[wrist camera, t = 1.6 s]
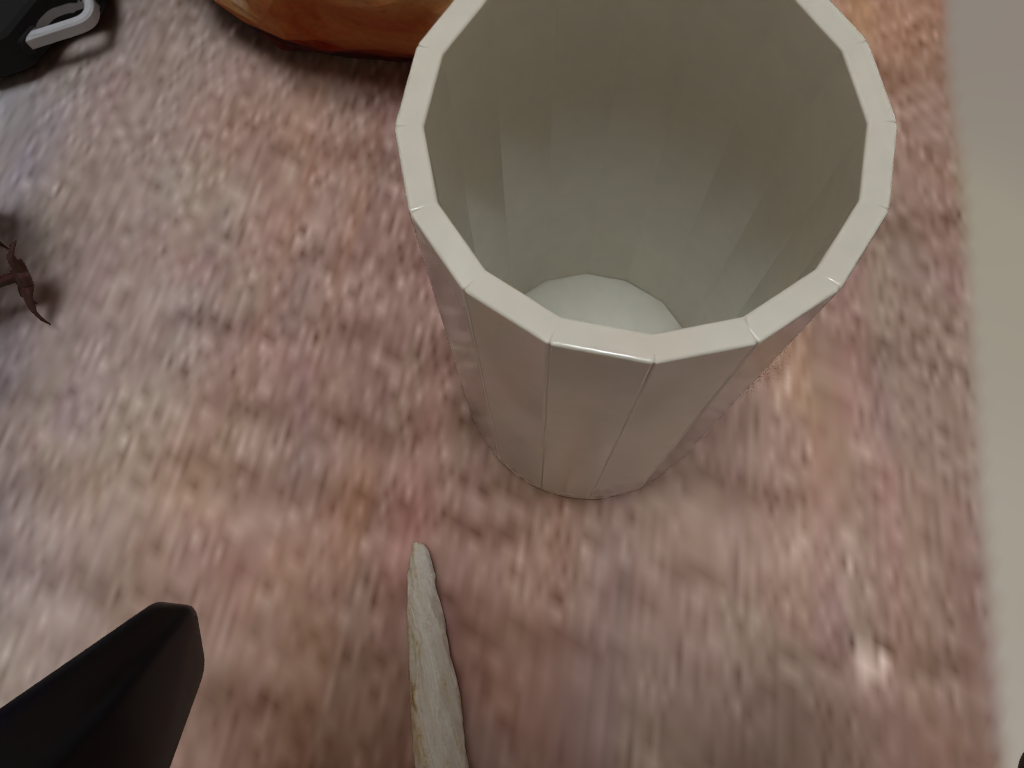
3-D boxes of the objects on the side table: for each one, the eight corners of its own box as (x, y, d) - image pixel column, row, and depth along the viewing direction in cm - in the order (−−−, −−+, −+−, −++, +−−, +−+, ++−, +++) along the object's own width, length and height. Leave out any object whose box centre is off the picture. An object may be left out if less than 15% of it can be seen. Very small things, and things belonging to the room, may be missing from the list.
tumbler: (732, 473, 22) (966, 304, 10) (491, 520, 22) (442, 404, 10) (673, 252, 24) (813, -112, 12) (450, 294, 24) (366, -33, 12)
